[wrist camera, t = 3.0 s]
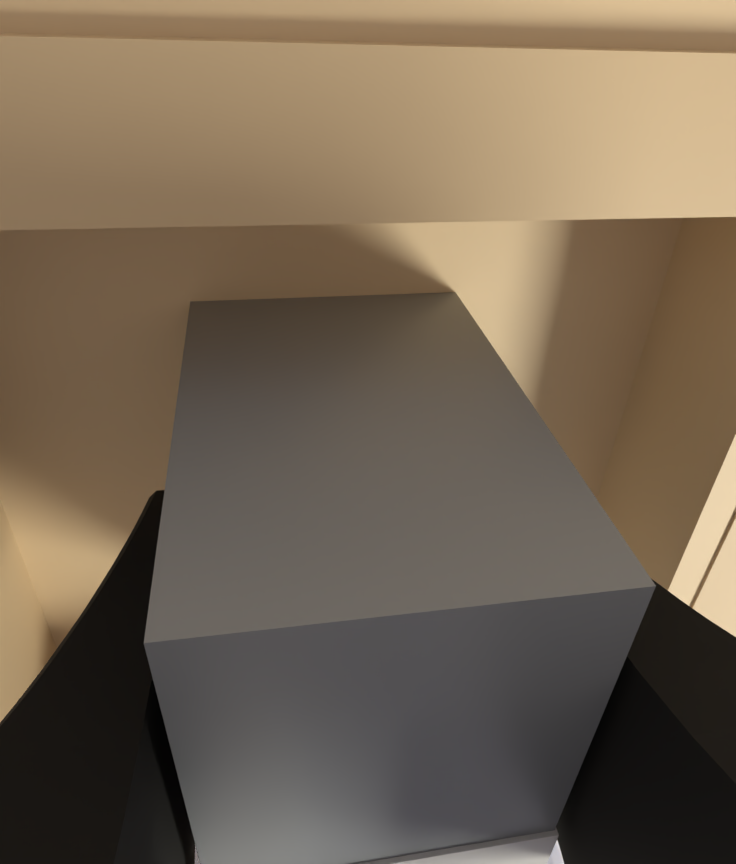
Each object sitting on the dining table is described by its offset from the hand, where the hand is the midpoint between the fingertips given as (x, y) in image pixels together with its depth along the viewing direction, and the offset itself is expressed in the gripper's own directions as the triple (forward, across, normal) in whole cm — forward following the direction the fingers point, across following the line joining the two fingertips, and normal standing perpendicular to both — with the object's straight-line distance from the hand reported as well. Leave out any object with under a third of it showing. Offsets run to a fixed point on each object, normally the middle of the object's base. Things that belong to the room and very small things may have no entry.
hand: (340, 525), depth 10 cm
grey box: (+2, 0, 0) cm, 2 cm away
